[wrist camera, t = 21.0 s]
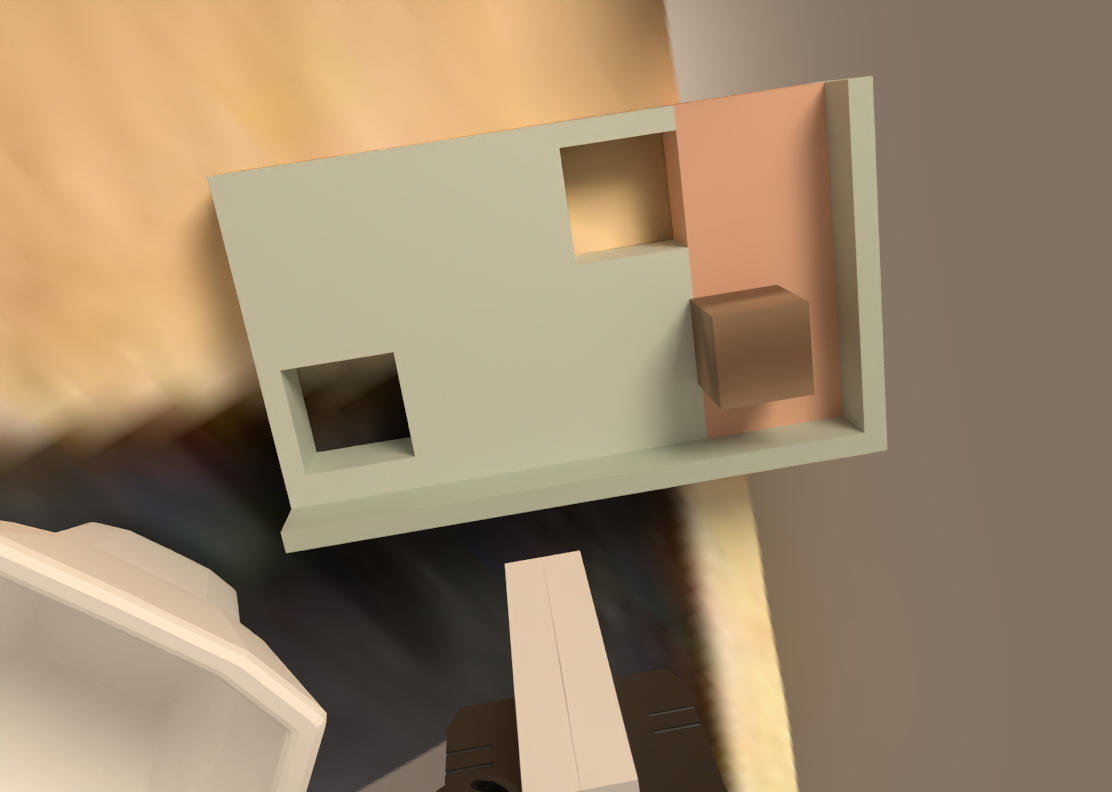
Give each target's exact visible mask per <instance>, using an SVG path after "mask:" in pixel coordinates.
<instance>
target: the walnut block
mask: <svg viewBox="0 0 1112 792" xmlns="http://www.w3.org/2000/svg"><path fill="white" fill-rule="evenodd" d="M690 308H691V318H692V328H693V337H694V347H695V357H696V367H697V377H698V384H699V385H700V387H701V388H702V389H703V390H704V391H705V392H706V393H707V395H708V396H709V397H710V398H711V399H712V400H713V402H714V403H715V404H716V405H717V406H718V407H719V408H720V410H725V409H731V408H737V407H743V406H749V405H755V404H761V403H767V402H773V401H779V400H785V399H791V398H797V397H803V396H809V395H814V379H813V363H812V347H811V331H810V315H809V301H807V300H805V299H803V298H801V297H799V296H797V295H796V294H794V293H792V292H790V291H788V290H786V289H784V288H782V287H780V286H779V285H772V286H766V287H760V288H754V289H747V290H741V291H735V292H729V293H723V294H717V295H710V296H704V297H698V298H692V299H690Z"/></svg>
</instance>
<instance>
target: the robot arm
mask: <svg viewBox="0 0 1112 792" xmlns="http://www.w3.org/2000/svg"><path fill="white" fill-rule="evenodd" d="M505 572H506V585H507V598H508V611H509V624H510V638H511V651H512V664H513V677H514V690H515V698H512V699H506V700H501V701H495V702H489V703H484V704H478V705H473V706H467V707H462V708H460V709H459V711H458V712H457V714H456V716H455V717H454V719H453V721H452V722H451V724H450V726H449V727H448V729H447V747H446V754H447V757H446V776H445V786H443V787H442V788H440V789H439V790H437V791H436V792H728V791H727V790H726V788H725V786H724V783H723V780H722V778H721V775H720V773H719V770H718V767H717V765H716V762H715V760H714V757H713V754H712V752H711V749H710V746H709V744H708V741H707V739H706V736H705V733H704V731H703V728H702V726H701V724H700V720H699V718H698V715H697V712H696V710H695V709H694V705H693V702H692V699H691V697H690V694H689V691H688V689H687V686H686V684H685V683H684V682H682V681H681V680H680V679H679V678H678V677H676V676H675V675H674V674H673V673H672V672H671V671H669V670H668V669H667V668H666V669H660V670H655V671H649V672H644V673H638V674H633V675H627V676H622V677H616V678H612V675H611V671H610V667H609V664H608V660H607V656H606V652H605V648H604V644H603V640H602V636H601V632H600V628H599V624H598V620H597V616H596V612H595V608H594V604H593V600H592V597H591V593H590V589H589V585H588V581H587V577H586V573H585V569H584V565H583V561H582V557H581V553H580V551H575V552H569V553H564V554H558V555H552V556H546V557H541V558H535V559H529V560H523V561H518V562H512V563H506V564H505Z"/></svg>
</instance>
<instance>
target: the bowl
mask: <svg viewBox="0 0 1112 792" xmlns="http://www.w3.org/2000/svg"><path fill="white" fill-rule="evenodd" d="M326 718H327V714H326V713H325V711H324V710H323V709H322V708H321V706H320V705H319V704H318V703H317V702H316V701H315V700H314V698H313V697H312V696H311V695H310V694H309V693H308V692H307V690H306V689H305V688H304V687H303V686H302V685H301V683H300V682H299V681H298V680H297V679H296V678H295V677H294V675H293V674H292V673H291V672H290V671H289V670H288V669H287V667H286V666H285V665H284V664H283V663H282V662H281V661H280V659H279V658H278V657H277V656H276V655H275V654H274V653H273V651H272V650H271V649H270V648H269V647H268V646H267V645H266V643H265V642H264V641H263V640H262V639H260V638H259V637H258V636H256V635H255V634H254V633H253V632H251V631H250V630H249V629H247V628H246V627H245V626H244V625H242V624H241V623H240V620H239V611H238V602H237V593H236V591H235V590H234V589H233V588H232V587H231V586H230V585H228V584H227V583H226V582H225V581H223V580H222V579H221V578H220V577H218V576H217V575H216V574H215V573H214V572H212V571H211V570H210V569H208V568H206V567H204V566H202V565H200V564H198V563H196V562H194V561H192V560H190V559H188V558H186V557H184V556H182V555H180V554H178V553H176V552H174V551H172V550H170V549H168V548H166V547H163V546H161V545H159V544H157V543H155V542H153V541H151V540H149V539H146V538H144V537H142V536H140V535H138V534H136V533H134V532H132V531H129V530H125V529H121V528H117V527H113V526H109V525H104V524H100V523H94V522H90V523H87V524H84V525H80V526H77V527H74V528H70V529H67V530H64V531H60V532H57V533H54V532H50V531H45V530H41V529H37V528H33V527H29V526H25V525H21V524H17V523H13V522H6V521H0V792H306V790H307V787H308V783H309V780H310V777H311V773H312V770H313V766H314V763H315V760H316V756H317V753H318V749H319V746H320V743H321V739H322V736H323V732H324V729H325V725H326Z"/></svg>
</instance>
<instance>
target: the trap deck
mask: <svg viewBox="0 0 1112 792" xmlns="http://www.w3.org/2000/svg"><path fill="white" fill-rule="evenodd" d="M661 132H662V135H663V144H664V153H665V163H666V172H667V182H668V191H669V200H670V210H671V219H672V229H673V238H674V239H672V240H666V241H660V242H653V243H647V244H641V245H635V246H628V247H622V248H616V249H610V250H603V251H597V252H591V253H585V254H578V255H574V249H573V242H572V235H571V227H570V220H569V213H568V206H567V199H566V192H565V184H564V177H563V170H562V163H561V156H560V149H559V148H563V147H570V146H576V145H583V144H589V143H596V142H602V141H609V140H615V139H622V138H628V137H635V136H641V135H648V134H654V133H661ZM207 178H208V182H209V186H210V190H211V194H212V198H213V202H214V206H215V210H216V214H217V218H218V222H219V225H220V229H221V233H222V237H223V241H224V245H225V249H226V253H227V257H228V261H229V265H230V269H231V273H232V277H233V281H234V285H235V288H236V292H237V296H238V300H239V304H240V308H241V312H242V316H243V320H244V324H245V328H246V332H247V336H248V340H249V344H250V348H251V351H252V355H253V359H254V363H255V367H256V371H257V375H258V379H259V383H260V387H261V391H262V395H263V399H264V403H265V407H266V411H267V414H268V418H269V422H270V426H271V430H272V434H273V438H274V442H275V446H276V450H277V454H278V458H279V462H280V466H281V470H282V474H283V477H284V481H285V485H286V489H287V493H288V497H289V501H290V505H291V511H290V514H289V516H288V518H287V520H286V522H285V524H284V526H283V529H282V531H281V536H282V540H283V543H284V547H285V551H286V553H290V552H296V551H302V550H308V549H313V548H319V547H325V546H331V545H337V544H343V543H348V542H354V541H360V540H366V539H372V538H378V537H383V536H389V535H395V534H401V533H407V532H412V531H418V530H424V529H430V528H436V527H442V526H447V525H453V524H459V523H465V522H471V521H477V520H482V519H488V518H494V517H500V516H506V515H512V514H517V513H523V512H529V511H535V510H541V509H546V508H552V507H558V506H564V505H570V504H576V503H581V502H587V501H593V500H599V499H605V498H611V497H616V496H622V495H628V494H634V493H640V492H646V491H651V490H657V489H663V488H669V487H675V486H680V485H686V484H692V483H698V482H704V481H710V480H715V479H721V478H727V477H733V476H739V475H745V474H750V473H756V472H762V471H768V470H774V469H780V468H785V467H791V466H797V465H802V464H809V463H814V462H820V461H826V460H832V459H838V458H843V457H849V456H855V455H861V454H867V453H872V452H879V451H884V450H887V432H886V406H885V382H884V381H885V380H884V355H883V329H882V306H881V305H882V304H881V280H880V279H881V278H880V253H879V227H878V202H877V176H876V151H875V125H874V100H873V76H867V77H859V78H850V79H841V80H833V81H825V82H818V83H811V84H804V85H798V86H791V87H784V88H778V89H771V90H765V91H758V92H752V93H745V94H739V95H732V96H726V97H719V98H713V99H706V100H701V101H693V102H687V103H680V104H674V105H667V106H661V107H654V108H648V109H641V110H634V111H628V112H621V113H615V114H608V115H602V116H595V117H589V118H582V119H576V120H569V121H563V122H556V123H550V124H543V125H537V126H530V127H524V128H517V129H511V130H504V131H498V132H491V133H485V134H478V135H471V136H465V137H458V138H452V139H445V140H439V141H432V142H426V143H419V144H413V145H406V146H400V147H393V148H387V149H380V150H374V151H367V152H361V153H354V154H348V155H341V156H335V157H328V158H322V159H315V160H309V161H302V162H295V163H289V164H282V165H276V166H269V167H263V168H256V169H250V170H243V171H237V172H230V173H224V174H219V175H215V176H210V177H207ZM772 285H779V286H780V287H782V288H784V289H786V290H788V291H790V292H792V293H794V294H796V295H797V296H799V297H801V298H803V299H805V300H807V301H809V315H810V331H811V347H812V363H813V379H814V395H809V396H803V397H797V398H791V399H785V400H779V401H773V402H767V403H761V404H755V405H749V406H743V407H737V408H731V409H725V410H720V408H719V407H718V406H717V405H716V404H715V403H714V402H713V400H712V399H711V398H710V397H709V396H708V395H707V393H706V392H705V391H704V390H703V389H702V388H701V387H700V385H699V384H698V377H697V367H696V357H695V347H694V337H693V328H692V318H691V308H690V299H692V298H698V297H704V296H710V295H717V294H723V293H729V292H735V291H741V290H747V289H754V288H760V287H766V286H772ZM391 352H394V357H395V362H396V367H397V371H398V376H399V381H400V386H401V391H402V396H403V401H404V405H405V410H406V415H407V420H408V425H409V430H410V435H411V437H407V438H401V439H395V440H389V441H383V442H377V443H371V444H365V445H359V446H353V447H347V448H341V449H335V450H329V451H323V452H316V448H315V444H314V440H313V436H312V431H311V427H310V423H309V419H308V415H307V411H306V406H305V402H304V398H303V394H302V390H301V386H300V381H299V377H298V373H297V369H296V368H299V367H305V366H312V365H318V364H324V363H330V362H336V361H342V360H348V359H354V358H361V357H367V356H373V355H379V354H385V353H391Z"/></svg>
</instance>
